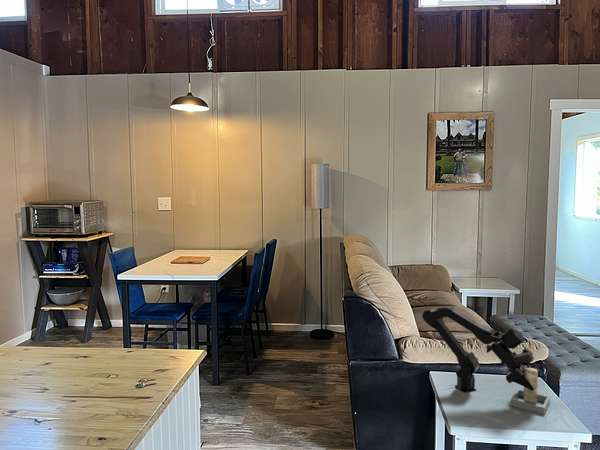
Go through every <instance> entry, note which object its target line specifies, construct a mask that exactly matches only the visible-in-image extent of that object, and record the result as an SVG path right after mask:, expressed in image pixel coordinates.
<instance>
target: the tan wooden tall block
mask: <svg viewBox="0 0 600 450" xmlns="http://www.w3.org/2000/svg"><path fill="white" fill-rule="evenodd" d="M524 372H526V378H527V379H528V381H529V382H530V384H531V385H532V386H533V388H534V390H533V391H531V390H529V389H528V388H526V387H524V386H523V390H524V397H523V402H526V403H530V404H534V405H538V400H537V394H538V374H539V373H538V372H539V371H538V370H537V369H536V368H532V367H530V368H525V369H524Z"/></svg>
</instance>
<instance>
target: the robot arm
mask: <svg viewBox="0 0 600 450" xmlns="http://www.w3.org/2000/svg"><path fill="white" fill-rule="evenodd" d="M444 318H449V320H452V321H453V322H455V323H456V324H458V325H460V326H462V327H463V328H464V329H466V330H468V331H469V332H471V333H472V335H474V337H475V338H476V339H477V340H478V341H480V342H481V343H482V344H484V345H486V353H490V352H491V351H492V352H493V354H494V355H495V356H496V357H497V358H498V359H499V360H500V364H501V365H504V366H505V367H506V368H507V369H508V370H507V372H508V373H507V374H506V375H505V380H506V381H507V383H508V384H511V383H516V384H518V385H520V386H522V387H523V388H524V387H526V388H528V389H529V390H531V391H533V390H534V388H533V386H532V385H531V384H530V382H529V381H528V379H527V378H526V372H524V369H525V368H531V364H530V363H533V362H534V360H535V358H534V356H533V354H534V353H533V352H532V351H531V350H529V349H528V348H523V349H522V350H521V351H522V352H520V353H516V352H515V351H512V350H514V349H516V348H517V347H518V346H520V345H521V344H523V343H524V342H525V341H526V340H525V337H524V336H523V334H522V333H521V332H519V331H518V330H517V329H515V328H513V327H510V328H509V329H508V330H507V331H506V332H501V331H497V330H495V329H494V328H492V327H490V326H489V325H485V324H481V323H479V322H476V321H475V320H473V319H471V318H470V317H468V316H466V315H465V314H463V313H462V312H460V311H458V309H455V308H454V307H453V306H451V305H448V306H445V307H439V308H436V307H430V308H427V309H426V310H424V311H423V313H422V319H423V321H424V322H425V323H426V324H427V325H428V326H429V327H430V328H432V329H434V330H435V331H436V332H437V334H439V336H440V337H441V339H442V340H443V341H444V342H445V344H446V345H447V346H448V348H449V349H450V350H451V352H452V353H453V354H454V355H455V357H456V360H457V362H458V366H459V368H458V369H457V370H456V371H455V375H456V377H457V378H456V384H455V385H454V387H455V388H456V389H458V390H459V391H461V392H463V393H467V392H468V393H469V392H474V391H475V392H476V391H477V389H476V388H475V387H476V385H475V383H476V379H475V375H474V374H475V373H476V371H478V369H480V361H479V358H478V357H476V355H475V354H474V352H473V351H470V352H468V351H467V350H465V349H464V347H463V345H462V344H460V342H459V341H458V340H457V338H456V337H455V335H454V334H453V333H452V332H451V331H450V329H449V328H448V327H447V325H446V324H445V321H444ZM511 349H512V350H511Z"/></svg>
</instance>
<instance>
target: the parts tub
mask: <svg viewBox="0 0 600 450" xmlns="http://www.w3.org/2000/svg"><path fill="white" fill-rule="evenodd" d="M519 397H521V398H524V389H523V390H522V389H518V388H517V389H516V391H515V392H514V394H513V396H512V397H511V398H510V406H511V407H514V408H518V409H521V410H522V409H523V410H525V411H526V410H527V411H530V412H533V413H537V414H543V415H545V414H546V412H547V409H548V407H549V405H550V403H551V396H550V395H544V394H541V393H537V402H538V401H539V402H543V404H542V406H541V405H539V404H537V405H534V404H530V403H526V402H524V401H521V400H518V398H519Z"/></svg>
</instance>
